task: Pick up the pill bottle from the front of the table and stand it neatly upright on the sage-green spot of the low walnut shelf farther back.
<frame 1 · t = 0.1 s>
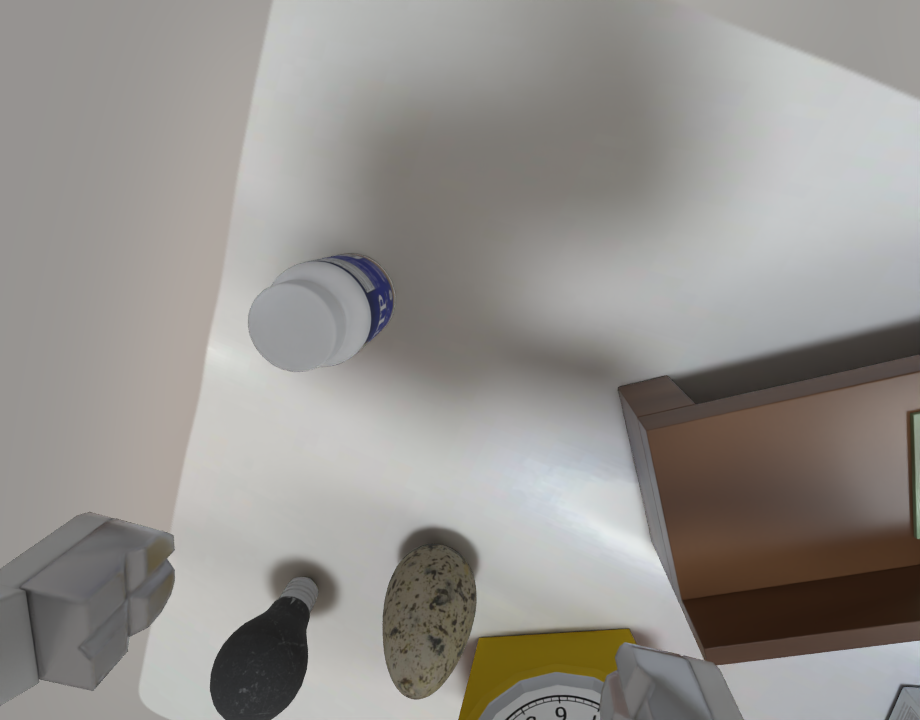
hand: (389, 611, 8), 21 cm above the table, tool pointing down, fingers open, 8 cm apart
light bulb: (308, 579, 35), on the table
alarm clock: (557, 664, 36), on the table
decorative egg: (439, 555, 33), on the table
pill bottle: (356, 295, 28), on the table
shelf: (818, 431, 27), on the table
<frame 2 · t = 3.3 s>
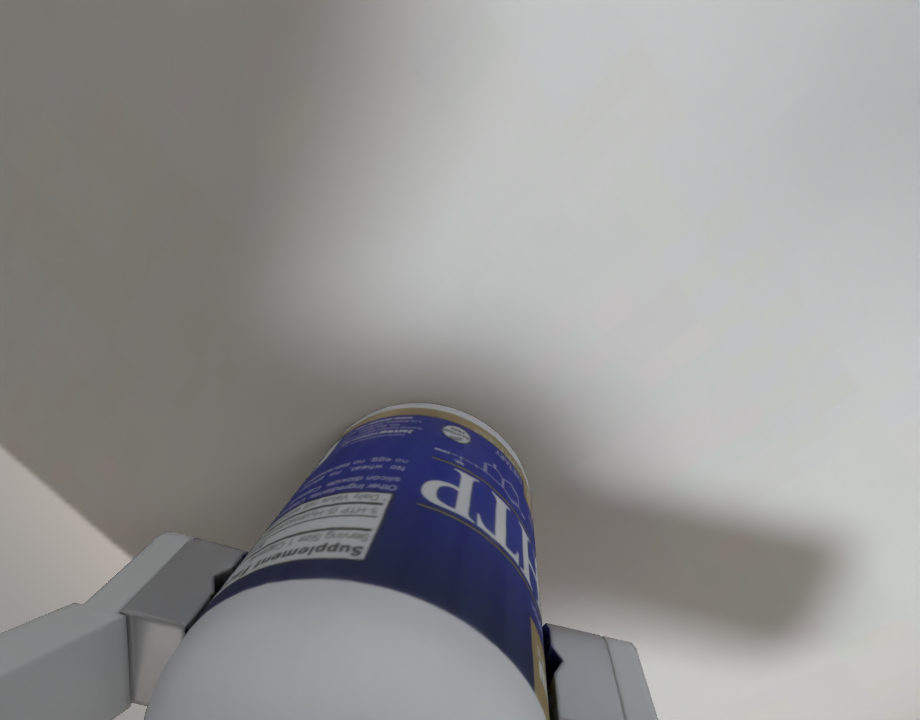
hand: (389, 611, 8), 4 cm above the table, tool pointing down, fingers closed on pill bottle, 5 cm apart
pill bottle: (427, 487, 12), on the table, touching gripper
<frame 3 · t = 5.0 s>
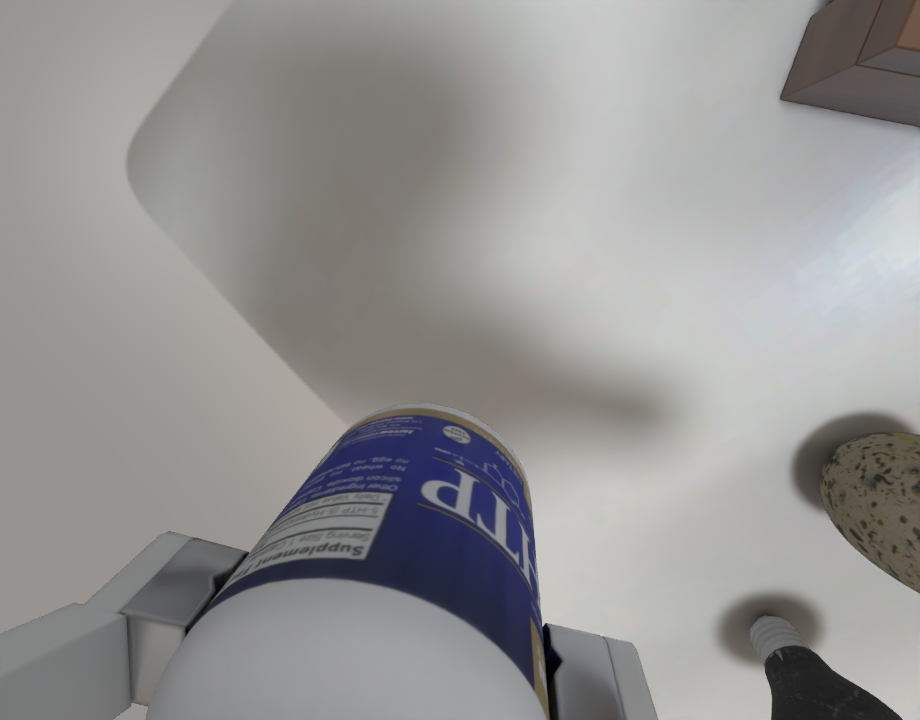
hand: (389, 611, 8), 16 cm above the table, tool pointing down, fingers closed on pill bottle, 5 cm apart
light bulb: (762, 618, 27), on the table
decorative egg: (849, 459, 23), on the table
pill bottle: (428, 487, 12), point 13 cm above the table, touching gripper
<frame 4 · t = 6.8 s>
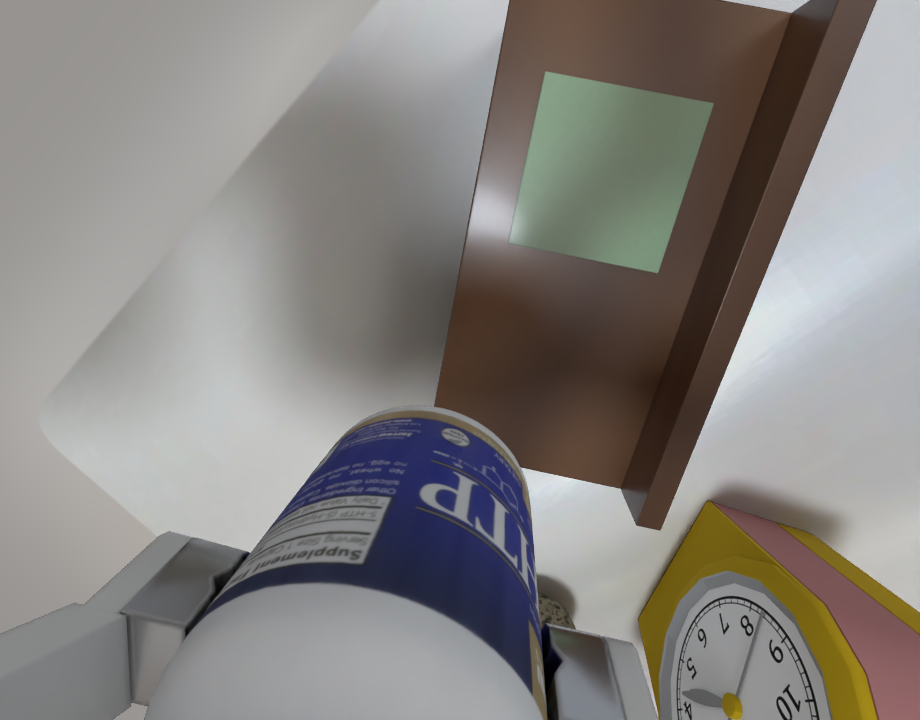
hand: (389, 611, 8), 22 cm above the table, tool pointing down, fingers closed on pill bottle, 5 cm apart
alarm clock: (713, 575, 33), on the table
decorative egg: (533, 601, 35), on the table
pill bottle: (427, 489, 12), point 18 cm above the table, touching gripper
shelf: (571, 258, 27), on the table
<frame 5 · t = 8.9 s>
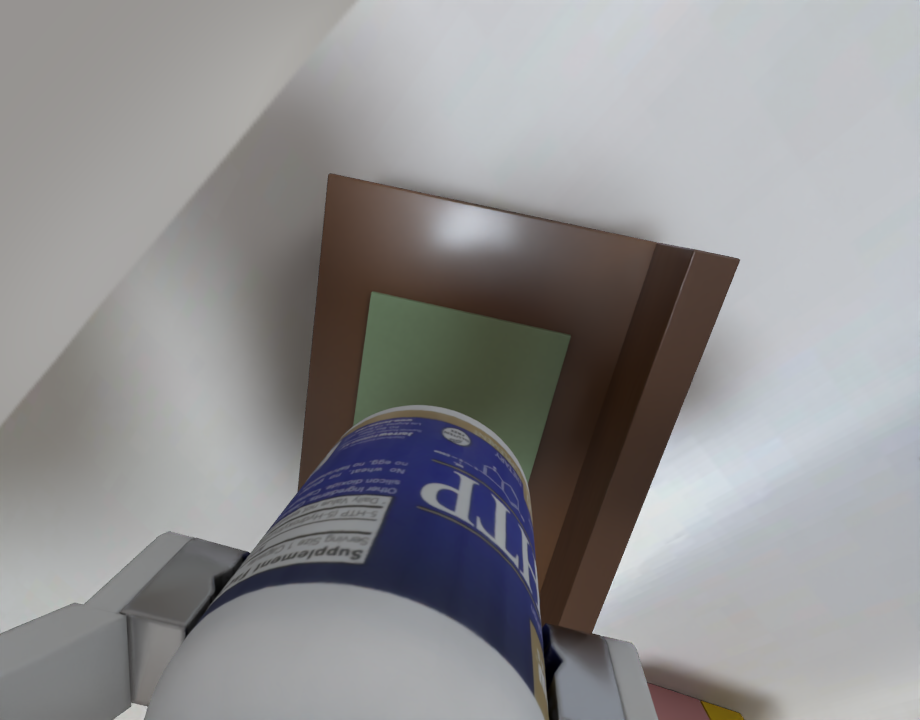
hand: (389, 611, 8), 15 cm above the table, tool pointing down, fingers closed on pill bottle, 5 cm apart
pill bottle: (427, 489, 12), point 11 cm above the table, touching gripper
shelf: (459, 428, 24), on the table
when the fingers open (10 cm above the table, at t = 10.6 s): pill bottle stays where it is, resting on shelf.
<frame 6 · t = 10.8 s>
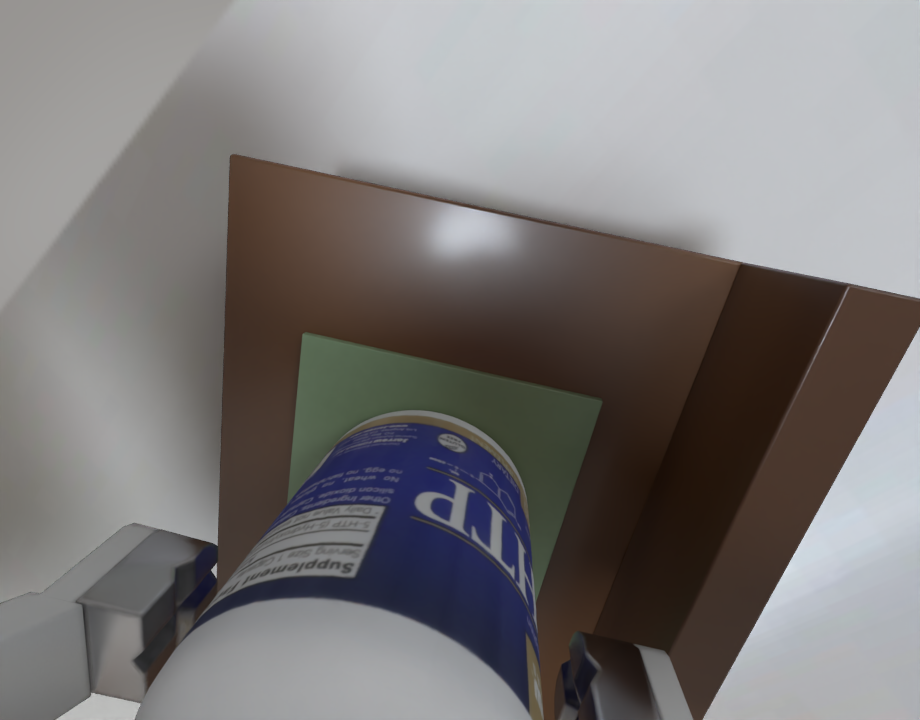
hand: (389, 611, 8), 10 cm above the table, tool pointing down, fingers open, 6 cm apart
pill bottle: (424, 494, 11), point 6 cm above the table, touching shelf
shelf: (445, 489, 18), on the table
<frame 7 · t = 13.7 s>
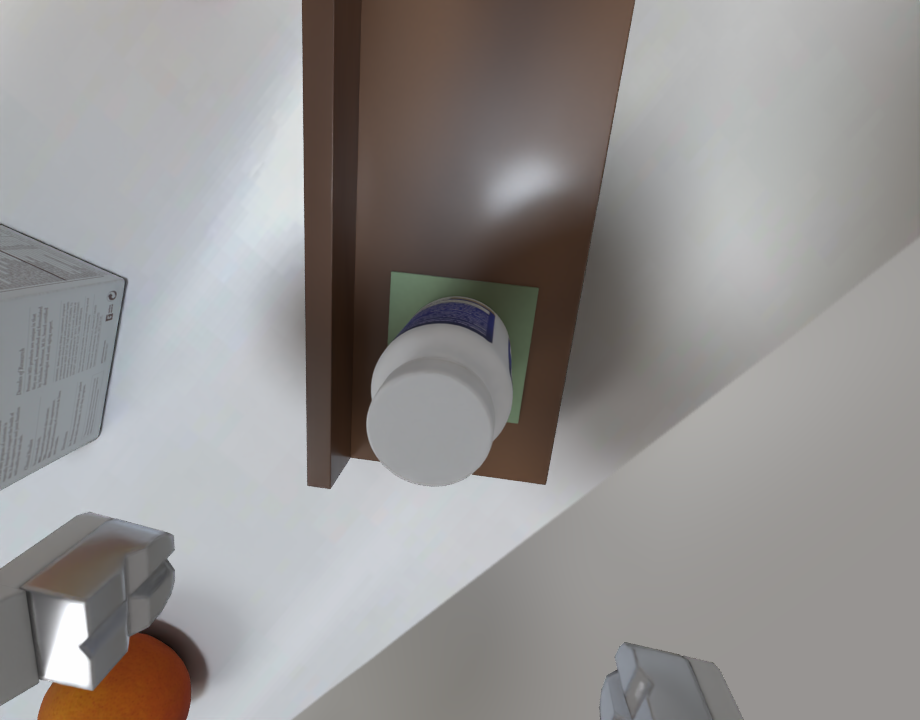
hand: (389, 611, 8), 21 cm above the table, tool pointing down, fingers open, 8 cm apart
fruit: (159, 656, 40), on the table
pill bottle: (458, 347, 22), point 6 cm above the table, touching shelf
supplement box: (29, 325, 31), on the table
shelf: (465, 256, 27), on the table
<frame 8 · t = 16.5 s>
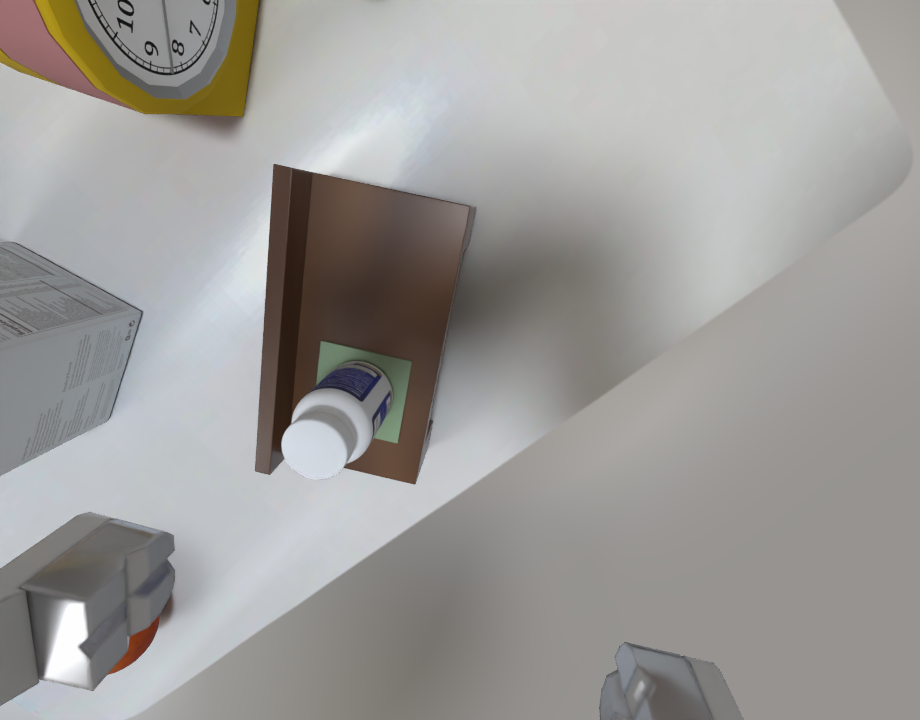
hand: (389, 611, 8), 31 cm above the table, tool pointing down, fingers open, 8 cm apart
alarm clock: (212, 20, 33), on the table
fruit: (136, 590, 52), on the table
pill bottle: (361, 391, 35), point 6 cm above the table, touching shelf
supplement box: (65, 335, 43), on the table
shelf: (382, 324, 39), on the table
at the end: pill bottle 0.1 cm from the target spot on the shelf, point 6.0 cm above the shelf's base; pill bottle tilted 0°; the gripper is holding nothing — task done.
